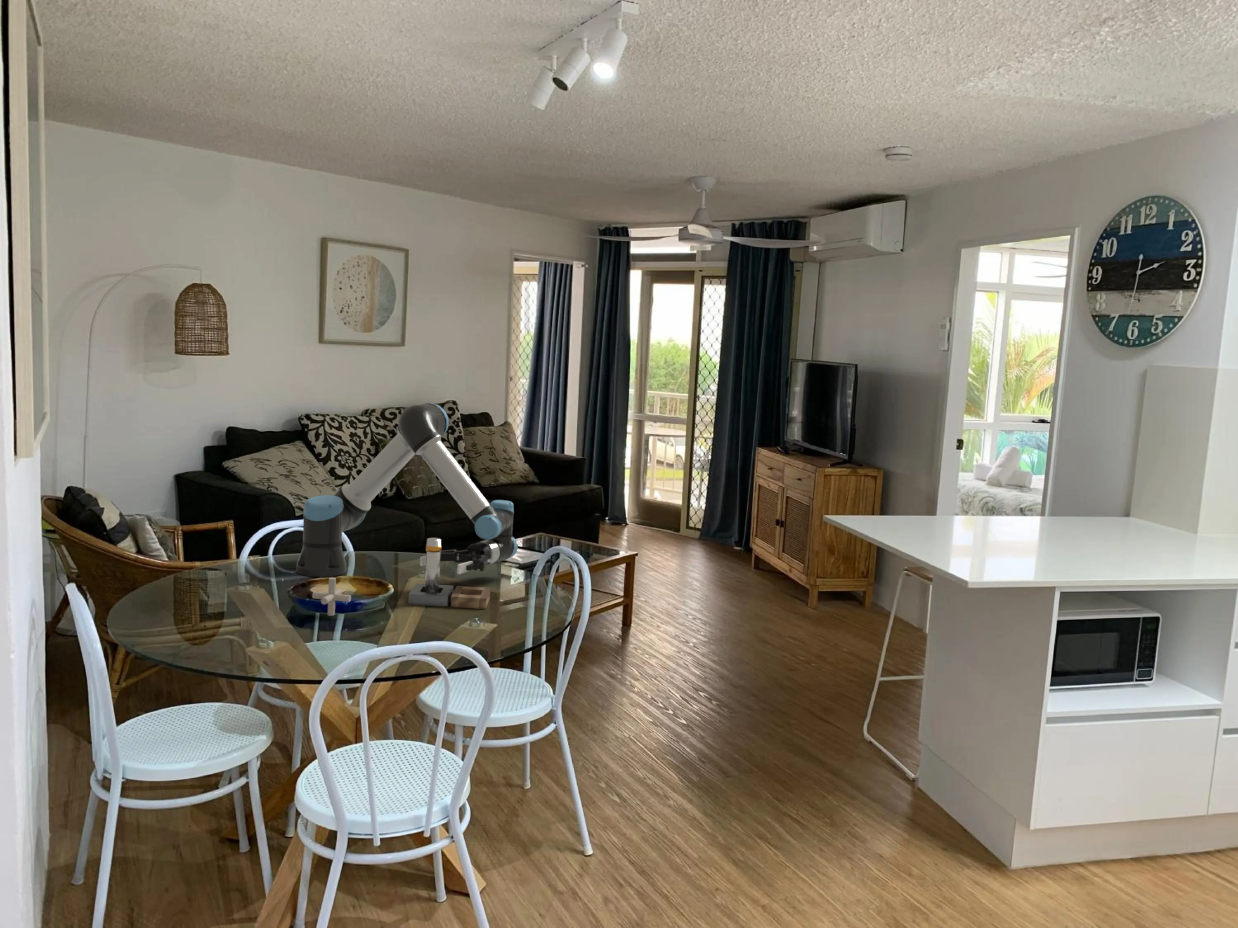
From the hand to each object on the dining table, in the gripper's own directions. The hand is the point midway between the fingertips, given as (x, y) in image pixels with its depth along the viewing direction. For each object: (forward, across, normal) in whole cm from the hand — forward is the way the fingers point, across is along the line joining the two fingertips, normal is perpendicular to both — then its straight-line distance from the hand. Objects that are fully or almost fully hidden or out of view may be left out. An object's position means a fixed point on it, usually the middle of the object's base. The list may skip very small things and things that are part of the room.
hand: (439, 565), depth 267 cm
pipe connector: (+31, +11, -10) cm, 35 cm away
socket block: (+2, 0, -10) cm, 10 cm away
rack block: (-3, -10, -10) cm, 14 cm away
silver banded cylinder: (+2, 0, -10) cm, 10 cm away
